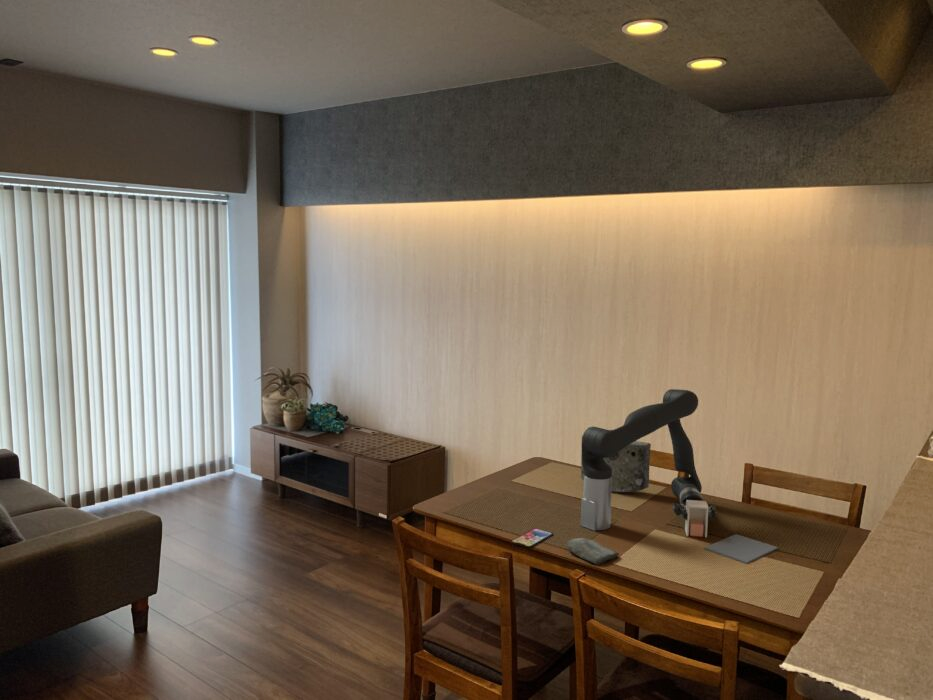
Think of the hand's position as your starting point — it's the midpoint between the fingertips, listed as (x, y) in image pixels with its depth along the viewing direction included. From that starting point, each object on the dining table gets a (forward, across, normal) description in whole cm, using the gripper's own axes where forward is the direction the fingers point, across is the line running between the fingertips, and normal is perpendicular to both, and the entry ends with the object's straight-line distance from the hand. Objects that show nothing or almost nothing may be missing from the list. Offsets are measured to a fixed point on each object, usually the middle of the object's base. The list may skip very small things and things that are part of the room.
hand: (697, 517), depth 234 cm
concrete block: (-44, -26, +7) cm, 52 cm away
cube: (-2, 0, +6) cm, 7 cm away
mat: (+8, +12, +6) cm, 16 cm away
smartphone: (+13, -52, +7) cm, 54 cm away
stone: (+21, -34, +7) cm, 41 cm away
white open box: (-2, 0, +6) cm, 6 cm away
